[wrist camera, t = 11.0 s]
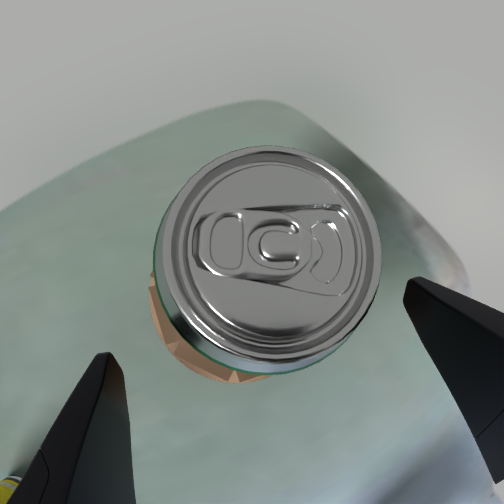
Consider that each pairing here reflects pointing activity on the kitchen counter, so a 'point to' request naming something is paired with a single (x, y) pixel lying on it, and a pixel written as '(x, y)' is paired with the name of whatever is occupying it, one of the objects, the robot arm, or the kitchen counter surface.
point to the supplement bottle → (8, 488)
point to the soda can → (267, 260)
